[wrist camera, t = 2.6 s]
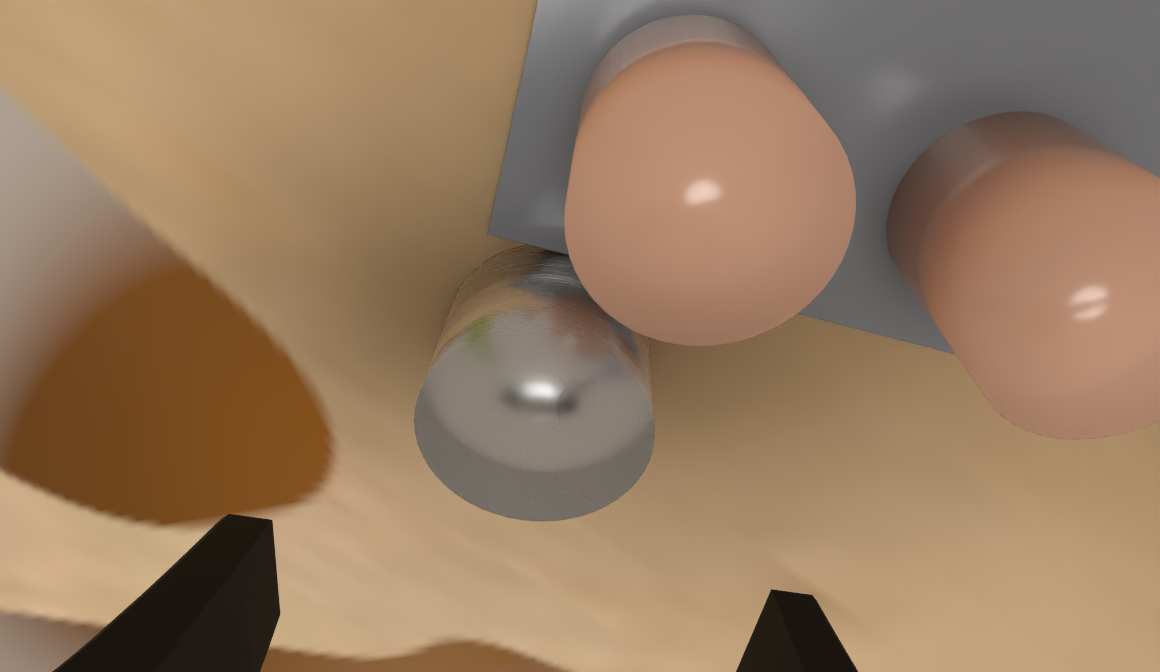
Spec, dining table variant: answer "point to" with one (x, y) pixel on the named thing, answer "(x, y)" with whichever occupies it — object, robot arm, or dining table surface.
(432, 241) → the dining table surface
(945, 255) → the salmon capsule cylinder
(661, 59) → the peach domed cylinder
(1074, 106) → the slate board
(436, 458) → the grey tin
